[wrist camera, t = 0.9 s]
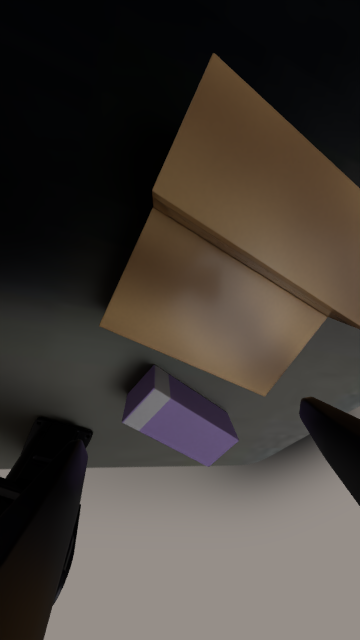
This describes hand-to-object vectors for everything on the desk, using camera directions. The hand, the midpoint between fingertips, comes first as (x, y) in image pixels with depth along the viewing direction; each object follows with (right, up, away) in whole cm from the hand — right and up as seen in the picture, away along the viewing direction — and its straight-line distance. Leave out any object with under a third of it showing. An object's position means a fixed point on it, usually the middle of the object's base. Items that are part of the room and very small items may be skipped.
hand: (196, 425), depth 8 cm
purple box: (-1, -6, +16) cm, 17 cm away
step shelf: (+4, +8, +12) cm, 15 cm away
